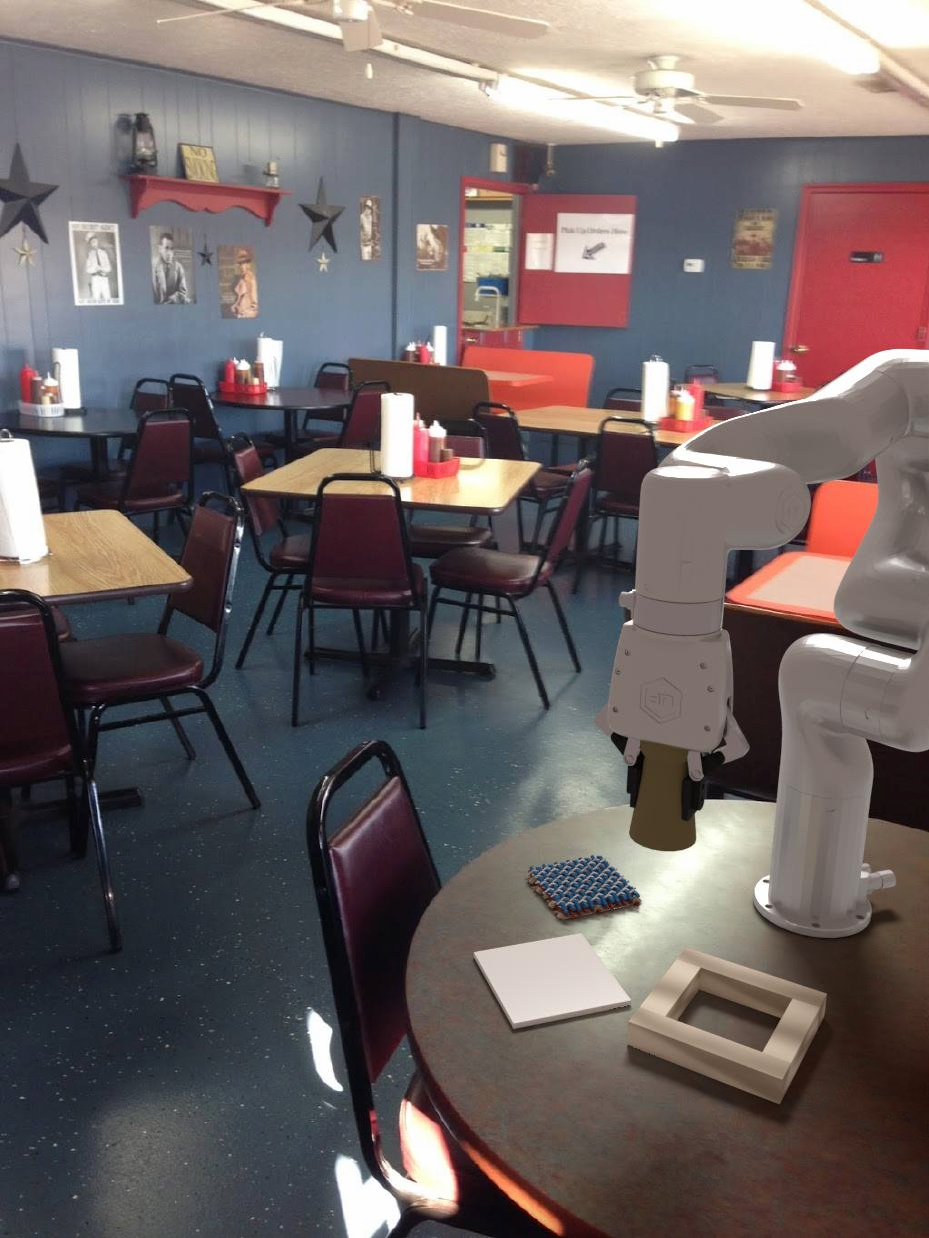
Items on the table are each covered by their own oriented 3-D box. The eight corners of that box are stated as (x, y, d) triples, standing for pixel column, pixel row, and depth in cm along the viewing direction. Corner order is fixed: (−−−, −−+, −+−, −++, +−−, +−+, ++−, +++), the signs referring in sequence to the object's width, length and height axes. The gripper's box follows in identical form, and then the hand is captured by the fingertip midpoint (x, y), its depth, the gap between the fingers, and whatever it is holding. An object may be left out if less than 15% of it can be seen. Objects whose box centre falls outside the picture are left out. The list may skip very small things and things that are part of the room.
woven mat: (601, 864, 131) (601, 849, 131) (644, 909, 122) (645, 893, 121) (521, 879, 128) (522, 864, 127) (560, 926, 118) (561, 910, 118)
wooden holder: (684, 968, 110) (686, 947, 109) (824, 1016, 103) (826, 993, 102) (627, 1044, 99) (628, 1021, 98) (779, 1104, 92) (782, 1079, 91)
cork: (697, 854, 95) (707, 737, 92) (628, 848, 96) (635, 732, 93) (694, 823, 101) (703, 712, 98) (629, 817, 102) (636, 707, 99)
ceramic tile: (581, 938, 115) (581, 933, 115) (630, 1005, 104) (631, 1000, 104) (473, 957, 112) (473, 952, 112) (513, 1028, 101) (513, 1023, 101)
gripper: (569, 608, 93) (561, 802, 98) (763, 639, 85) (744, 849, 90) (604, 590, 100) (595, 773, 105) (787, 617, 92) (768, 814, 97)
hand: (664, 806), depth 98 cm, fingers closed on cork, 4 cm apart
